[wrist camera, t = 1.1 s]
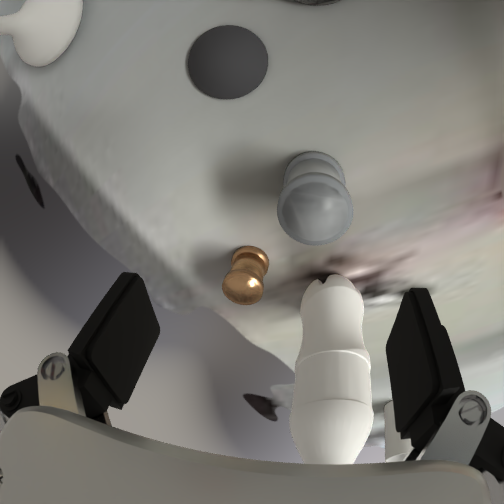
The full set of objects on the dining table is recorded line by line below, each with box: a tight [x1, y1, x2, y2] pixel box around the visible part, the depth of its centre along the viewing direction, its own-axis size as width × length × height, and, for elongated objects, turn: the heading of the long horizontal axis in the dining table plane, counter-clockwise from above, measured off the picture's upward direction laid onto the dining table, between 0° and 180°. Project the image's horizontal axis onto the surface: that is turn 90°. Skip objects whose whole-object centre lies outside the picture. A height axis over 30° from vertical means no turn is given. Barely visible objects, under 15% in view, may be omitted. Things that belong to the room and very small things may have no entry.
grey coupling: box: [277, 151, 353, 245], centre depth 25 cm, size 6×6×7 cm
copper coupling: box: [222, 246, 269, 305], centre depth 33 cm, size 4×4×5 cm
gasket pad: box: [188, 25, 268, 99], centre depth 23 cm, size 7×7×1 cm
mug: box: [384, 400, 412, 462], centre depth 44 cm, size 10×7×12 cm, turn 42°
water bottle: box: [289, 274, 374, 464], centre depth 25 cm, size 7×7×25 cm
